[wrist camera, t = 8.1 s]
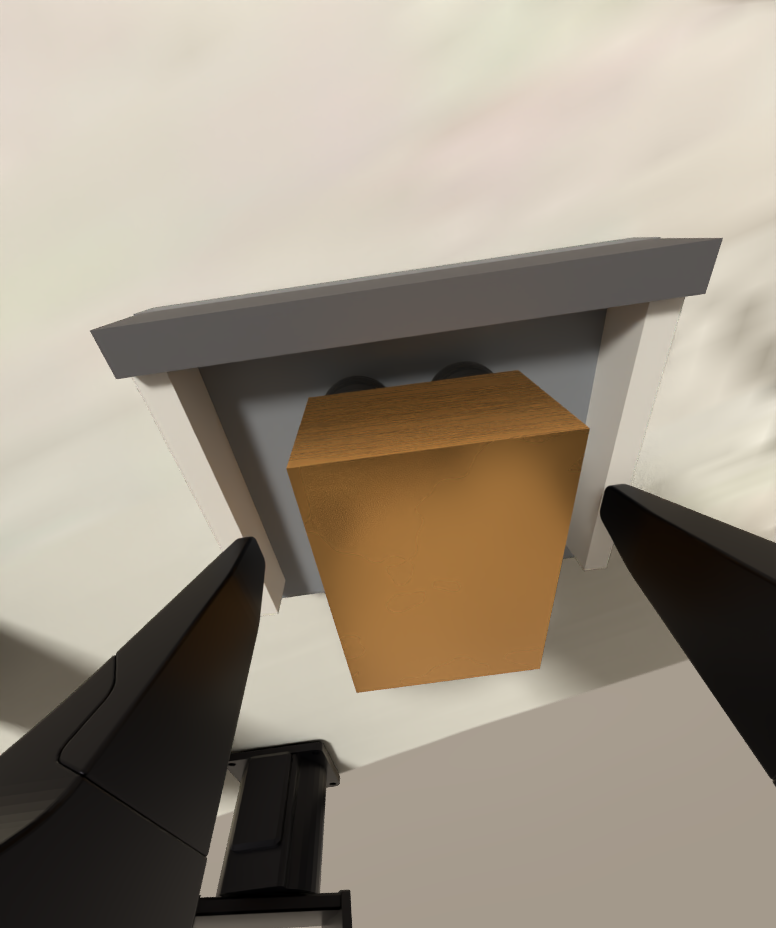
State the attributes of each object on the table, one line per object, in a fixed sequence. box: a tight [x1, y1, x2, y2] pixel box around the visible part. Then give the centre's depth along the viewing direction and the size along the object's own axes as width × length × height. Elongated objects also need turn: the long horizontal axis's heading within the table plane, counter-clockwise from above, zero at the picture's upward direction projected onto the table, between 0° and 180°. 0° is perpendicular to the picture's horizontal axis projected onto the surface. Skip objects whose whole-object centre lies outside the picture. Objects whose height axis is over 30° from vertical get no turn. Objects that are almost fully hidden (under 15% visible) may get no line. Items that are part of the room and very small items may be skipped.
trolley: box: [286, 361, 590, 693], centre depth 10 cm, size 7×5×5 cm
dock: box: [90, 237, 723, 616], centre depth 11 cm, size 11×13×3 cm
